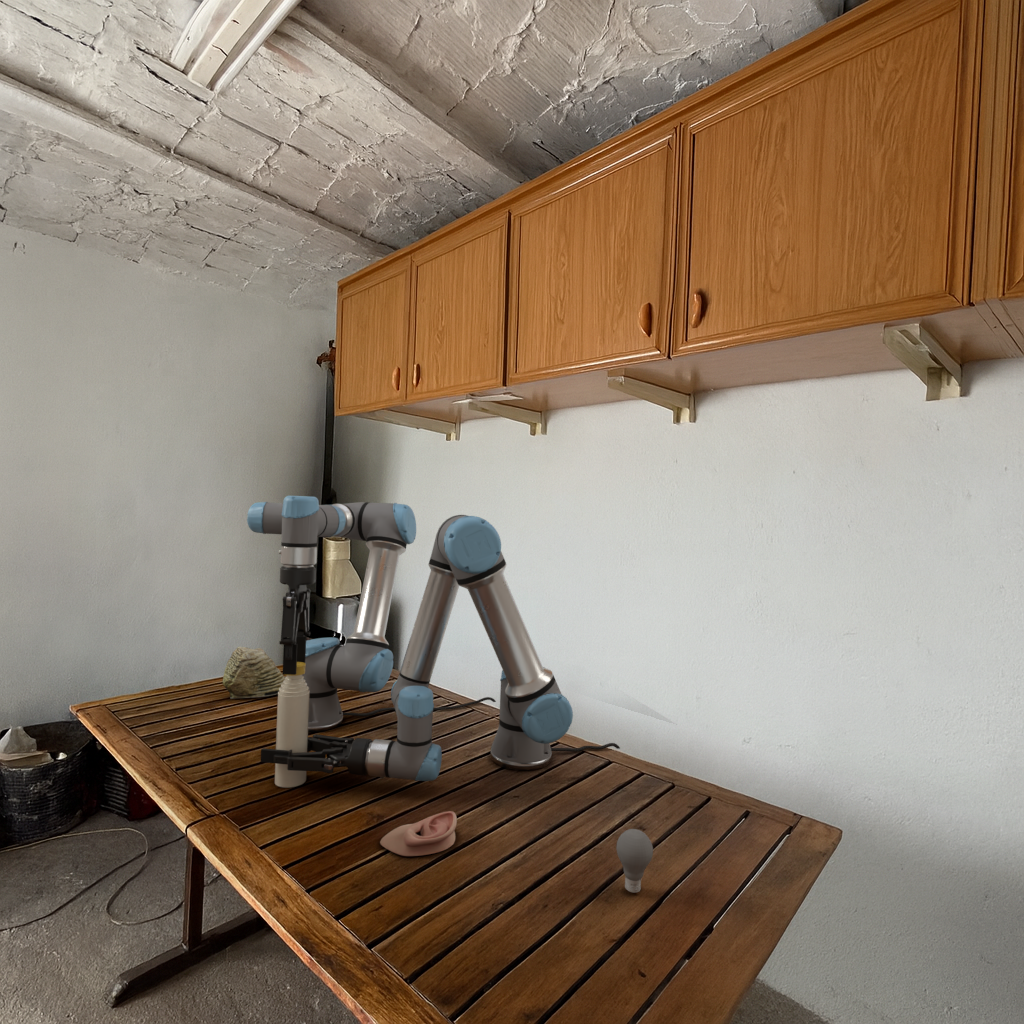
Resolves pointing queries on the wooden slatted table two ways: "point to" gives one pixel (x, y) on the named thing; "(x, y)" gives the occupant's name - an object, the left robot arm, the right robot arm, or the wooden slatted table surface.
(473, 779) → the wooden slatted table surface
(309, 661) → the left robot arm
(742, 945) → the wooden slatted table surface
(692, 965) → the wooden slatted table surface
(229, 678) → the fossil
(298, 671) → the cap
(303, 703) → the bottle
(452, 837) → the anatomical model
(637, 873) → the light bulb
